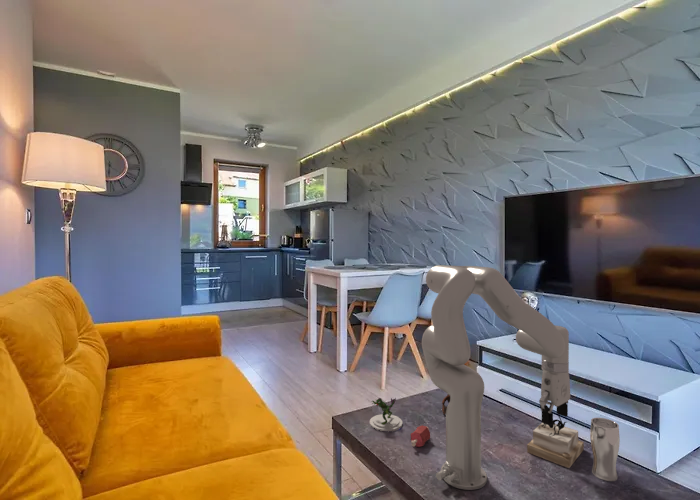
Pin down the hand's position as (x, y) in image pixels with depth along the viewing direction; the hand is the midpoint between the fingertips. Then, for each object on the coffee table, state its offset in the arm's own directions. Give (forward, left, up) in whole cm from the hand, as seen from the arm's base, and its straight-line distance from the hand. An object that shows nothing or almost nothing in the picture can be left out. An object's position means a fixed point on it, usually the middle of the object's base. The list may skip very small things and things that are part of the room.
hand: (554, 419), depth 121 cm
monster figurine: (-29, +47, -11) cm, 56 cm away
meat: (-29, +30, -11) cm, 43 cm away
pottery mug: (-2, +37, -11) cm, 38 cm away
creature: (-1, +1, -4) cm, 4 cm away
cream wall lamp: (+1, 0, -11) cm, 11 cm away
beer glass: (-1, -14, -10) cm, 18 cm away
